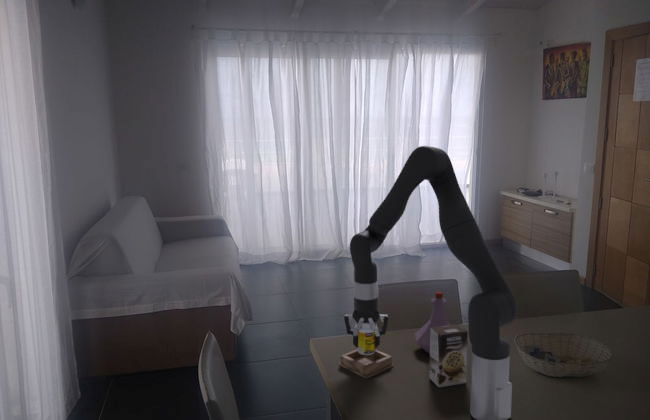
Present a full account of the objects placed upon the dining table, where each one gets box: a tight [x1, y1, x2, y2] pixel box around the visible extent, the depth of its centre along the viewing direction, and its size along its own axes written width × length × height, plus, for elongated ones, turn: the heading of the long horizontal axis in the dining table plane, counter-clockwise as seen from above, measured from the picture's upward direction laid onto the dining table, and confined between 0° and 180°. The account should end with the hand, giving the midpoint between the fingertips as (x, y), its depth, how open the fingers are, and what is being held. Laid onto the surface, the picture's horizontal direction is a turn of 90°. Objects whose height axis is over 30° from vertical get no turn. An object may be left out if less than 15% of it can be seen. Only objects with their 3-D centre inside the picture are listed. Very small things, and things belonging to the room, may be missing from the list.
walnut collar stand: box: [339, 348, 394, 380], centre depth 161 cm, size 12×12×3 cm
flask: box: [413, 291, 451, 354], centre depth 170 cm, size 16×16×20 cm
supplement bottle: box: [357, 323, 376, 355], centre depth 160 cm, size 6×6×10 cm
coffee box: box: [428, 324, 469, 388], centre depth 149 cm, size 9×6×16 cm
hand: (366, 346), depth 160 cm, fingers closed on supplement bottle, 5 cm apart
